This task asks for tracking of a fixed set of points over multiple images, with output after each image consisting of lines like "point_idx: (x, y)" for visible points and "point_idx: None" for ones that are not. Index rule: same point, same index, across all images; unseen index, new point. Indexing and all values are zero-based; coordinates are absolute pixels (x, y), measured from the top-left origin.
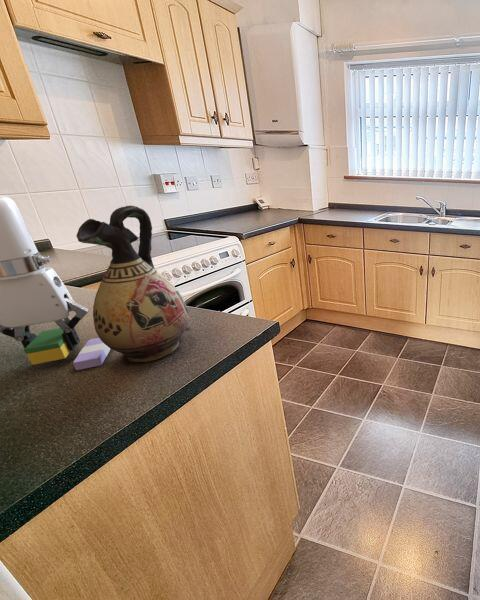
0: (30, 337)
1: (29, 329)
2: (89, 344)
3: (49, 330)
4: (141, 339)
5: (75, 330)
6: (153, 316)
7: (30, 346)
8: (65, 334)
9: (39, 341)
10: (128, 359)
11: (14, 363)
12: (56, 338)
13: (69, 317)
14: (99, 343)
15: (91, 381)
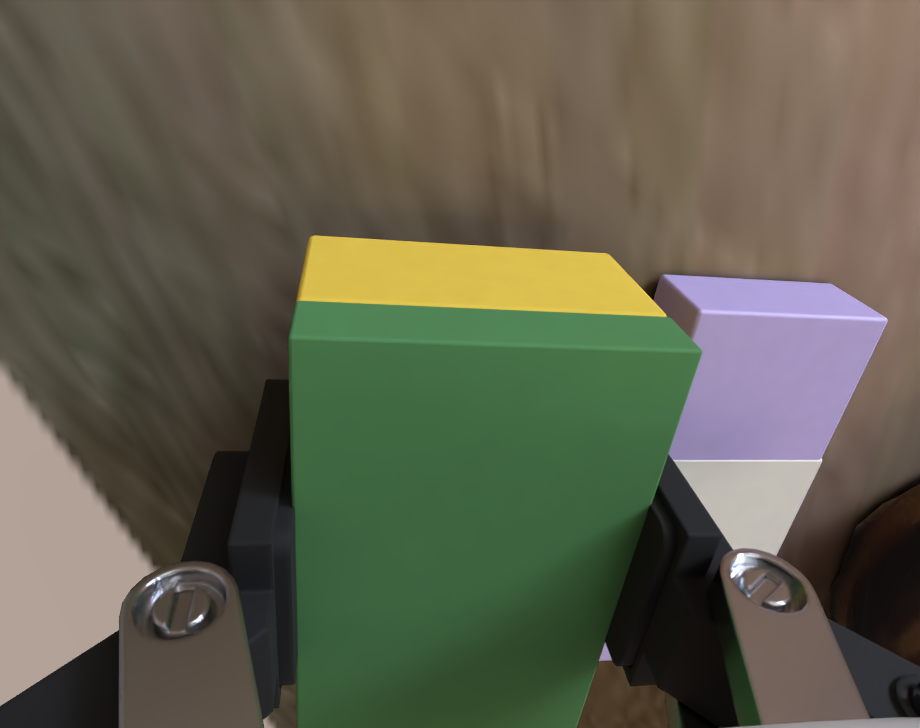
0: (275, 626)
1: (247, 654)
2: (697, 436)
3: (407, 372)
4: None
5: (728, 543)
6: None
7: (340, 721)
8: (652, 678)
9: (390, 652)
10: (831, 598)
11: (11, 285)
12: (549, 646)
13: (858, 713)
14: (767, 451)
15: (640, 713)
